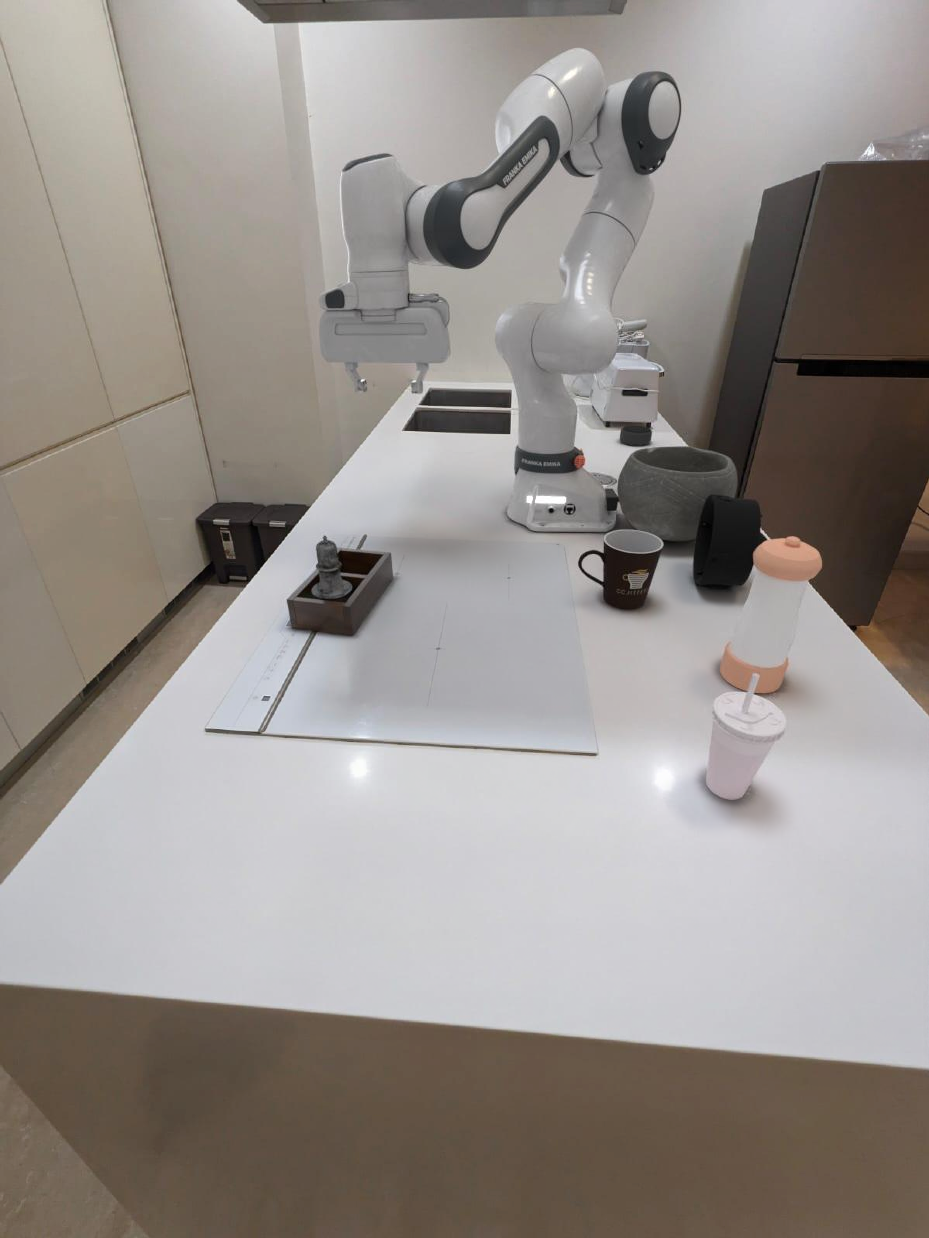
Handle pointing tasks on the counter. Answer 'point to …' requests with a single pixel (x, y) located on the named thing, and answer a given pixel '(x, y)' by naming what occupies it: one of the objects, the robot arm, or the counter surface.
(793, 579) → the pepper shaker
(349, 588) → the salt shaker
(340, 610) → the divided wooden box
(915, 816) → the counter surface
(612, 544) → the coffee mug
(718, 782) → the smoothie
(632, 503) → the bowl
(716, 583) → the black cylinder
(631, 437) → the smart speaker
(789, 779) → the counter surface
